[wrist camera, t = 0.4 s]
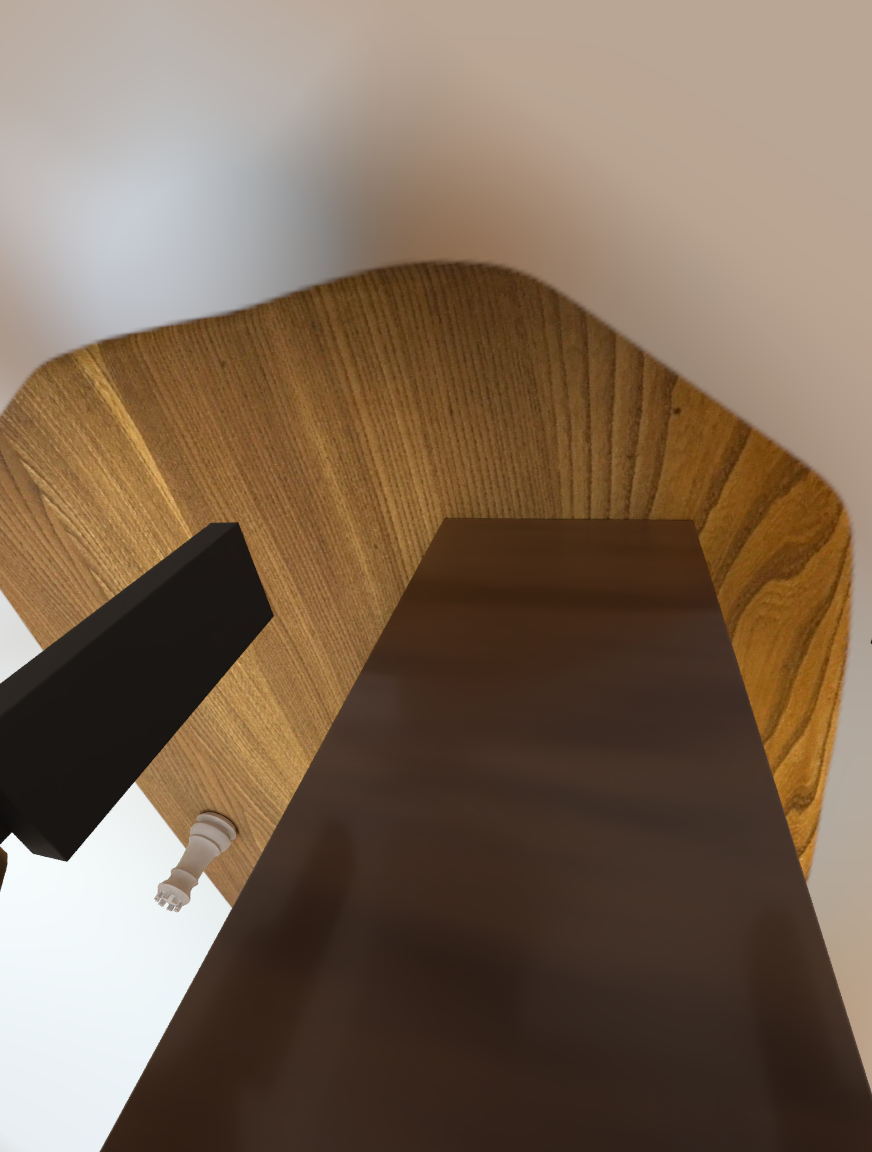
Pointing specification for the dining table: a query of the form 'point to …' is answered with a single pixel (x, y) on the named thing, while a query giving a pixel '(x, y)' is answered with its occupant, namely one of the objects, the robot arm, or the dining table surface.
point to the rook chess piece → (196, 858)
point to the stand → (524, 890)
